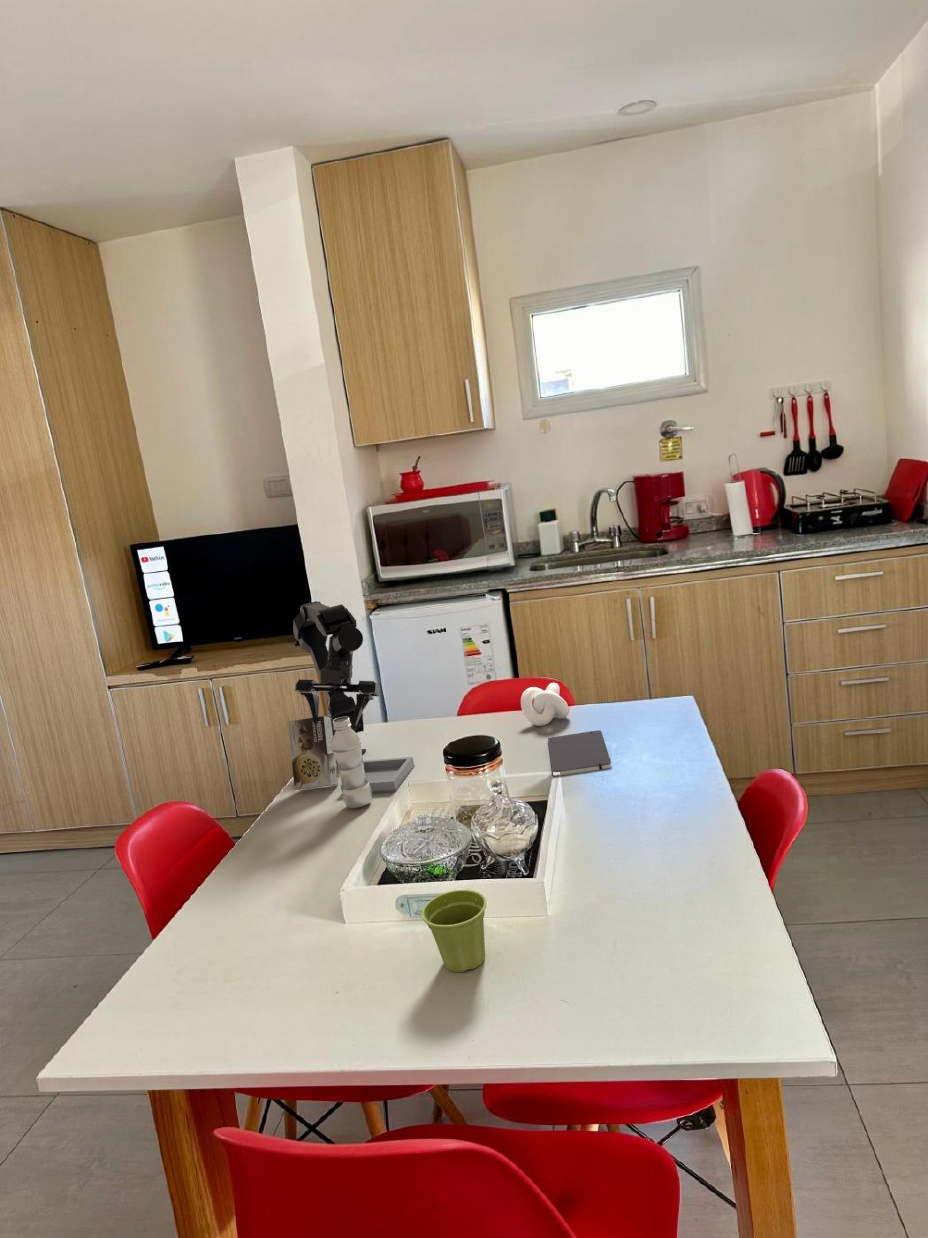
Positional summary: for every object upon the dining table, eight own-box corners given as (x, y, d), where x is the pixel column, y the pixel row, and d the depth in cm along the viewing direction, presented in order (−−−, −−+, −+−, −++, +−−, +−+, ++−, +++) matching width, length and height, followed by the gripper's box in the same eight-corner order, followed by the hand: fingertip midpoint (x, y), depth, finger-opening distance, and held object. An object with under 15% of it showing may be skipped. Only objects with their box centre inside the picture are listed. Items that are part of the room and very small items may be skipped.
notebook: (548, 743, 205) (553, 779, 184) (547, 737, 205) (552, 772, 184) (601, 735, 204) (612, 770, 183) (600, 729, 204) (611, 763, 183)
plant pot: (475, 986, 118) (464, 930, 117) (420, 974, 124) (408, 920, 122) (508, 947, 126) (498, 894, 124) (454, 937, 131) (444, 886, 130)
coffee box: (339, 784, 202) (333, 716, 205) (331, 785, 196) (324, 715, 199) (302, 789, 204) (296, 721, 207) (292, 790, 197) (287, 720, 200)
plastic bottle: (379, 798, 190) (361, 713, 186) (366, 812, 184) (347, 724, 180) (353, 799, 192) (334, 714, 188) (339, 812, 186) (320, 726, 182)
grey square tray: (364, 770, 208) (362, 760, 208) (414, 766, 205) (412, 756, 204) (342, 795, 195) (340, 785, 195) (396, 791, 192) (393, 781, 191)
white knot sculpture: (582, 714, 220) (577, 681, 218) (554, 731, 211) (548, 697, 210) (547, 710, 228) (542, 678, 226) (519, 726, 219) (513, 693, 218)
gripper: (291, 650, 194) (285, 720, 190) (372, 652, 192) (367, 722, 188) (304, 660, 205) (299, 725, 201) (381, 661, 203) (377, 728, 199)
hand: (335, 725), depth 197 cm, fingers open, 9 cm apart
